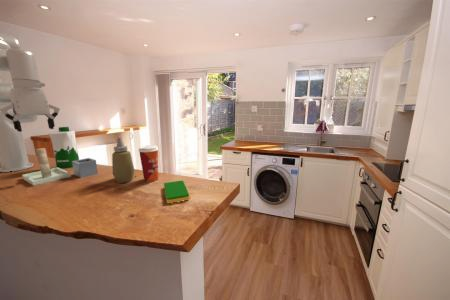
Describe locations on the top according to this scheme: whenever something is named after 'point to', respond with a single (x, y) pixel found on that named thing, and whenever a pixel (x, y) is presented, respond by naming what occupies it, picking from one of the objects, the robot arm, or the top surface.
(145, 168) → the paper cup
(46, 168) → the dowel
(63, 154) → the milk carton
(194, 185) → the top surface
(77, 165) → the holder
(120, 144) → the squeeze bottle
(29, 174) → the tray
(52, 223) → the top surface
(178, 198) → the dish sponge
